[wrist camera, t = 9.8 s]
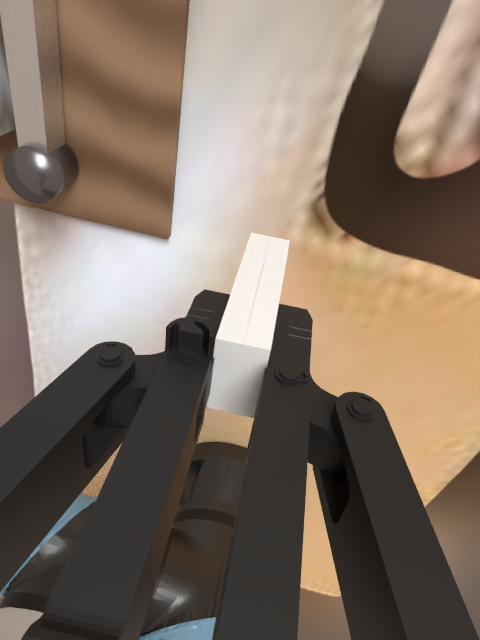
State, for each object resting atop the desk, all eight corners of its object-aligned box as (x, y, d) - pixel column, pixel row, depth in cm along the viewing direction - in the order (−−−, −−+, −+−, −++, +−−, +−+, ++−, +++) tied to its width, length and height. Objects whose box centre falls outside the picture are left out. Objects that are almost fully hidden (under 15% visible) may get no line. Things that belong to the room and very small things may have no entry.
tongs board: (170, 235, 43) (155, 257, 39) (-11, 191, 43) (-42, 210, 40) (198, -109, 28) (178, -121, 25) (-79, -168, 29) (-136, -187, 25)
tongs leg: (80, 191, 41) (58, 209, 38) (33, 180, 41) (7, 197, 38) (63, -117, 28) (28, -128, 25) (-5, -131, 28) (-48, -144, 25)
